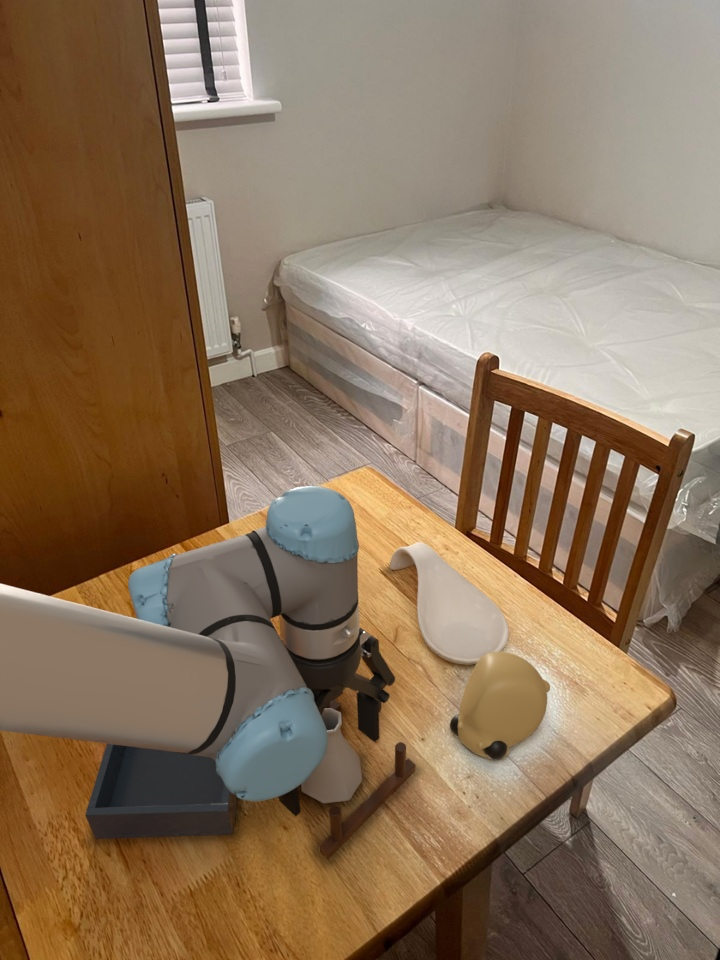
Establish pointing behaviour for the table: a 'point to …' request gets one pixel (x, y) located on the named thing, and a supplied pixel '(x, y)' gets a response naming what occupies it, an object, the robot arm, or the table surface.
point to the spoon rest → (452, 608)
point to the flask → (334, 766)
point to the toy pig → (500, 705)
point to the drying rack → (370, 805)
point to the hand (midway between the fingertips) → (330, 768)
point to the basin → (158, 795)
